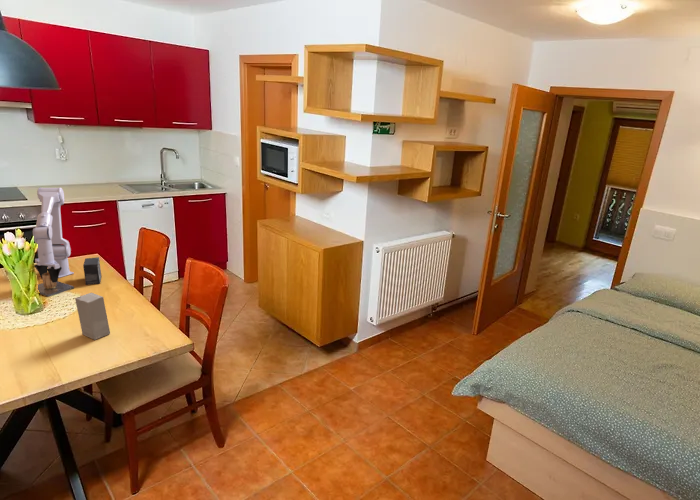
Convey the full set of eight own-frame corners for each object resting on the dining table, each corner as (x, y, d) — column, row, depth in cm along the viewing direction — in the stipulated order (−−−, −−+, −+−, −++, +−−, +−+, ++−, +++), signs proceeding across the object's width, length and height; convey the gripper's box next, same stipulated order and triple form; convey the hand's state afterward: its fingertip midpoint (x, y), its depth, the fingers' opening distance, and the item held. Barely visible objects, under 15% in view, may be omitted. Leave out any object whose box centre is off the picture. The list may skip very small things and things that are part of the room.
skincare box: (110, 334, 170) (106, 296, 165) (92, 341, 164) (87, 302, 159) (97, 328, 174) (93, 290, 169) (79, 335, 168) (74, 296, 163)
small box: (87, 277, 221) (84, 257, 218) (101, 276, 224) (99, 256, 221) (85, 285, 212) (82, 264, 209) (100, 283, 215) (98, 263, 212)
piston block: (27, 289, 203) (25, 279, 202) (53, 281, 214) (52, 272, 212) (48, 296, 198) (46, 286, 196) (74, 288, 208) (72, 278, 207)
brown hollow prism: (41, 286, 204) (40, 274, 202) (52, 283, 208) (50, 271, 207) (48, 288, 202) (46, 276, 200) (58, 285, 206) (57, 273, 205)
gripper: (26, 251, 200) (30, 279, 204) (46, 257, 194) (50, 286, 198) (42, 247, 206) (46, 275, 210) (62, 253, 200) (66, 281, 204)
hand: (49, 280), depth 204 cm, fingers open, 7 cm apart
